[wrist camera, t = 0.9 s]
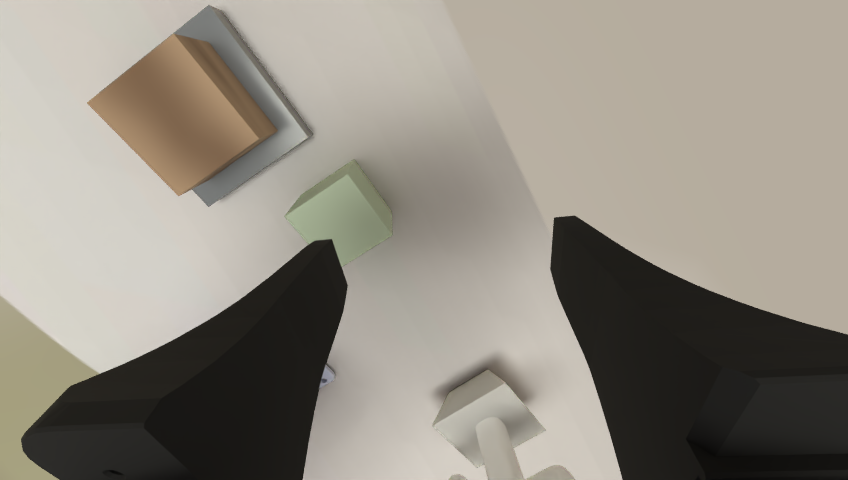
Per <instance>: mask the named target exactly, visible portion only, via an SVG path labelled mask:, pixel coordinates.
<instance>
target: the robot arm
mask: <svg viewBox="0 0 848 480" xmlns="http://www.w3.org/2000/svg"><path fill="white" fill-rule="evenodd" d="M550 270H551V273H552V277H553V281H554V284H555V288H556V291H557V294H558V297H559V299H560V302H561V304H562V306H563V309H564V311H565V313H566V316H567V318H568V320H569V322H570V324H571V327H572V329H573V331H574V333H575V336H576V338H577V340H578V342H579V345H580V347H581V349H582V351H583V353H584V356H585V358H586V361H587V363H588V366H589V368H590V371H591V374H592V378H593V381H594V384H595V387H596V390H597V393H598V396H599V399H600V402H601V406H602V409H603V412H604V416H605V419H606V422H607V426H608V429H609V432H610V436H611V439H612V443H613V446H614V450H615V453H616V457H617V461H618V464H619V468H620V471H621V475H622V479H623V480H848V335H847V334H843V333H840V332H836V331H832V330H828V329H824V328H821V327H817V326H813V325H809V324H805V323H802V322H799V321H796V320H792V319H789V318H786V317H783V316H780V315H776V314H773V313H770V312H767V311H764V310H760V309H758V308H754V307H752V306H749V305H746V304H743V303H740V302H738V301H735V300H732V299H730V298H727V297H725V296H722V295H720V294H717V293H714V292H711V291H709V290H707V289H704V288H702V287H700V286H697V285H695V284H693V283H690V282H688V281H686V280H684V279H682V278H680V277H678V276H675V275H673V274H671V273H669V272H667V271H665V270H663V269H661V268H659V267H657V266H655V265H653V264H652V263H650V262H648V261H646V260H644V259H643V258H641V257H639V256H637V255H636V254H634V253H632V252H631V251H629V250H627V249H625V248H624V247H622V246H620V245H619V244H617V243H616V242H614V241H613V240H611V239H610V238H608V237H607V236H605V235H604V234H602V233H601V232H599V231H598V230H596V229H595V228H593V227H592V226H590V225H589V224H587V223H585V222H584V221H582V220H581V219H579V218H578V217H576V216H566V217H556V218H554V226H553V240H552V254H551V267H550ZM347 286H348V285H347V282H346V279H345V276H344V273H343V270H342V267H341V264H340V261H339V258H338V255H337V252H336V250H335V247H334V244H333V241H332V239H326V240H316V241H313V242H312V243H310V244H309V245H308V246H306V247H305V248H304V249H303V250H301V251H300V252H299V253H298V254H297V255H295V256H294V257H293V258H292V259H291V260H289V261H288V262H287V263H286V264H285V265H283V266H282V267H281V268H280V269H279V270H277V271H276V272H275V273H274V274H273V275H271V276H270V277H269V278H268V279H266V280H265V281H264V282H262V283H261V284H260V285H259V286H257V287H256V288H255V289H253V290H252V291H251V292H250V293H248V294H247V295H246V296H244V297H243V298H241V299H240V300H239V301H237V302H236V303H234V304H233V305H231V306H230V307H228V308H227V309H225V310H224V311H222V312H221V313H219V314H218V315H216V316H215V317H213V318H211V319H210V320H208V321H206V322H204V323H203V324H201V325H199V326H197V327H196V328H194V329H192V330H190V331H189V332H187V333H185V334H183V335H182V336H180V337H178V338H176V339H174V340H172V341H171V342H169V343H167V344H165V345H163V346H161V347H159V348H157V349H155V350H153V351H151V352H148V353H146V354H144V355H142V356H140V357H138V358H136V359H134V360H131V361H129V362H127V363H125V364H123V365H120V366H118V367H115V368H113V369H111V370H108V371H106V372H103V373H101V374H99V375H96V376H94V377H91V378H89V379H87V380H85V381H82V382H79V383H77V384H74V385H72V386H70V387H69V388H68V389H67V390H66V391H65V392H64V393H63V394H62V395H61V396H60V397H59V398H58V399H57V400H56V401H55V402H54V403H53V404H52V405H51V406H50V407H49V408H48V409H47V411H46V412H45V413H44V414H43V415H42V416H41V417H40V418H39V419H38V420H37V421H36V422H35V423H34V424H33V425H32V426H31V427H30V428H29V429H28V430H27V431H26V432H25V434H24V435H23V437H22V439H21V442H22V448H23V451H24V453H25V454H26V455H27V457H28V458H29V459H30V460H32V461H33V462H34V463H36V464H37V465H38V466H40V467H41V468H43V469H44V470H46V471H47V472H49V473H50V474H52V475H53V476H55V477H56V478H58V479H59V480H302V479H303V473H304V467H305V461H306V454H307V448H308V442H309V437H310V431H311V426H312V421H313V415H314V410H315V406H316V401H317V396H318V392H319V389H320V388H322V387H323V386H325V385H327V384H329V383H330V382H332V381H333V380H334V379H335V373H334V372H333V371H332V370H331V369H330V368H329V367H328V366H327V365H326V362H327V359H328V356H329V353H330V350H331V347H332V344H333V341H334V338H335V335H336V332H337V329H338V326H339V323H340V320H341V317H342V314H343V310H344V305H345V299H346V293H347ZM323 378H324V379H326V380H323Z"/></svg>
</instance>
